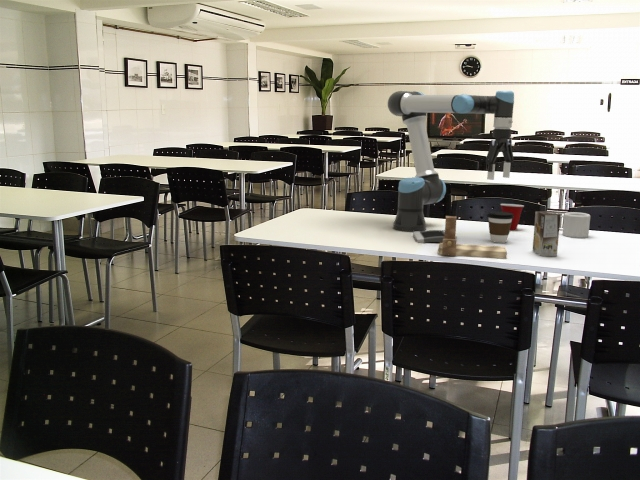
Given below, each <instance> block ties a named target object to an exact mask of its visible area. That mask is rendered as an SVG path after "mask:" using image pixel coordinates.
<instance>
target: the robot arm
mask: <svg viewBox="0 0 640 480" xmlns="http://www.w3.org/2000/svg"><path fill="white" fill-rule="evenodd" d="M514 105H515V92H514V91H512V90H497V91H496V92H495V95H470V94H424V93H422V92H419V91H416V90H412V91H410V90H409V91H407V90H406V91H405V90H404V91H403V90H398V91H395V92H392V94H390V96H389V97H388V99H387V109H388V111H389V112H390V113H391V114H392V115H394V116H396V117H401V119H402V123H403V124H404V125H405V126H406V127H407V133H408V137H409V143H410V149H411V153H412V158H413V165H414V169H415V176H414V177H413V176H412V177H406V178H402V179H400V181H399V182H398V187H397V189H398V192H397V194H398V195H397V213H396V216H395V218H394V221H393V223H392V225H393V227H392V228H393V229H394V230H397V231H402V232H416V231H419V232H421V231H427V223H426V220H425V219H426V218H425V215H424V205H434V204H436V203H439V202H440V201H442V200H443V199H444V197H445V195H446V193H447V187H446V183H445V182H444V180H443V179H441V178H440V176H439V173H438V171H436V170H435V166H434V163H433V157H432V153H431V147H430V146H431V145H430V141H429V137H428V132H427V127H426V120H427V118H428V114H427V113H431V114H432V113H437V114H438V113H439V114H465V115H466V114H476V115H480V114H481V115H482V114H483V115H485V114H488V115H489V114H490V115H493V126H492V127H493V129H492V137H493V138H495V140H493V139H491V140H490V145H489V147H488V148H489V149H488V152H487V156H486V157H485V164H487V165H488V166H487V177H486V178H487V179H486V180H492V181H493V180H495V169H496V163H495V162H496V160H497V158H498V156H499V153H501V154H502V155H503V159H504V162H503V170H502V171H503V173H502V178H506V179H507V178H509V179H510V173H511V163H514V152H513V151H514V150H513V147H512V144H513V143H512V142H513V141H512V139H511V138H512V131H513V130H512V129H511V128H512V127H513V122H514V121H513V114H514Z"/></svg>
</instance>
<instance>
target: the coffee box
mask: <svg viewBox="0 0 640 480" xmlns="http://www.w3.org/2000/svg"><path fill="white" fill-rule="evenodd" d="M534 216H535V217H534V227H533V239H532V252H533V253H535V254H537V255H540V256H541V257H557V256H558V250H559V249H558V246H559V236H560V230H559V229H560V224H561V217H560V216H562V215H561V214H559V213H557V212H554V211H550V210H548V211H547V210H546V211H545V210H544V211H543V210H541V211H536V210H535V214H534Z"/></svg>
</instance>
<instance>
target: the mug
mask: <svg viewBox="0 0 640 480" xmlns="http://www.w3.org/2000/svg"><path fill="white" fill-rule="evenodd" d="M560 218H563V226H562V228H559V232H560V231H561V232H562V235H563V236H564V237H567V238H573V239H574V238H575V239H585V238H588V237H589V234H590V224H591V223H590V222H591V215H590V214H589V213H586V212H576V211H575V212H574V211H573V212H572V211H570V212H569V211H568V212H565V213H564V215H561V216H560Z"/></svg>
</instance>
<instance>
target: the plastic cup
mask: <svg viewBox="0 0 640 480" xmlns="http://www.w3.org/2000/svg"><path fill="white" fill-rule="evenodd" d="M499 205H500V208H501V212H509V213H512V214H513V216H514V218H513V219H512V221H511V222H512V223H511V227H510V231H516V230H517V229H518V226H519V223H520V217H521V214H522V211H523V208H524V207H525V205H522V204H515V203H500V204H499Z"/></svg>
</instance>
